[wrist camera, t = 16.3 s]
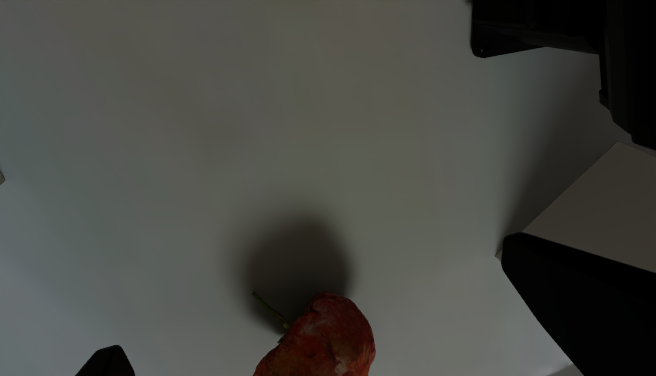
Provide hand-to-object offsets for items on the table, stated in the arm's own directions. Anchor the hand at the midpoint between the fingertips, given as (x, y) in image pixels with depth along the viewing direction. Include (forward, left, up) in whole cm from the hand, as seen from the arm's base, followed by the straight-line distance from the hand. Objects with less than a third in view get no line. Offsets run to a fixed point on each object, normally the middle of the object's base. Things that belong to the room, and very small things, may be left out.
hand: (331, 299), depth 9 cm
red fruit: (0, +13, -13) cm, 19 cm away
